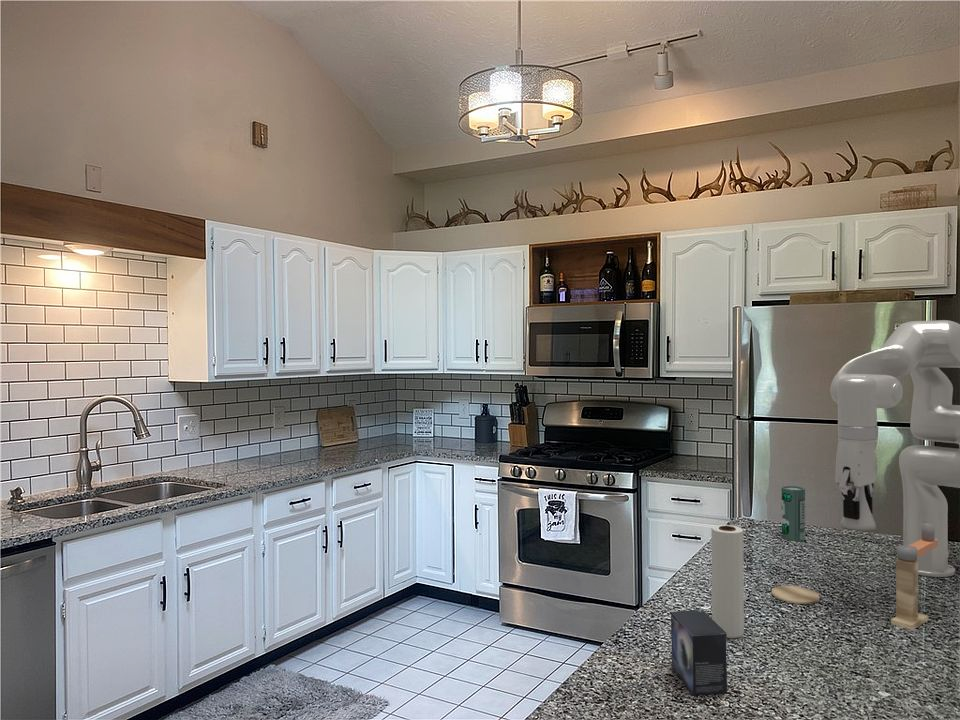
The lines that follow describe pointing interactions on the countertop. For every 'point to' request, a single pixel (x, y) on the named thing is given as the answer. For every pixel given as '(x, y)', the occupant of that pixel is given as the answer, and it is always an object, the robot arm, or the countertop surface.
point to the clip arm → (919, 544)
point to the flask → (865, 514)
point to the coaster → (795, 594)
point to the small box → (699, 652)
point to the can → (793, 513)
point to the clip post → (907, 596)
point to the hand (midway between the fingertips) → (858, 515)
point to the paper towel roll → (728, 579)
